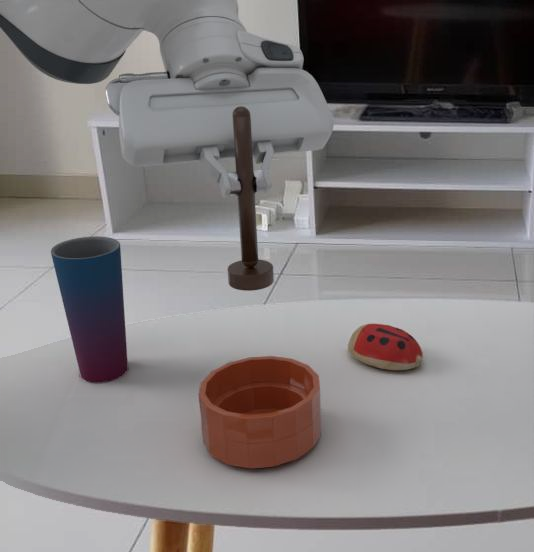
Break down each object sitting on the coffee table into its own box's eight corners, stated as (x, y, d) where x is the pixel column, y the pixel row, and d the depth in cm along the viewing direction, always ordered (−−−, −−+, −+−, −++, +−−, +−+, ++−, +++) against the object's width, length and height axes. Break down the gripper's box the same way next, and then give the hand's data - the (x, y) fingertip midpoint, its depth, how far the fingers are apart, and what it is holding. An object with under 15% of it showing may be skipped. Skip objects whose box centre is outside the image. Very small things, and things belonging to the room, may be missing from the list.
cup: (143, 376, 84) (128, 250, 78) (80, 393, 80) (58, 263, 74) (126, 351, 89) (110, 232, 83) (65, 366, 85) (44, 243, 80)
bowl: (199, 478, 68) (193, 421, 65) (209, 410, 78) (204, 359, 75) (323, 468, 69) (322, 413, 67) (317, 403, 79) (316, 353, 77)
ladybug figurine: (366, 336, 94) (366, 311, 92) (435, 357, 89) (437, 330, 88) (335, 359, 88) (334, 332, 87) (408, 382, 84) (408, 354, 82)
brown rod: (227, 291, 72) (214, 111, 65) (229, 274, 76) (217, 102, 69) (273, 290, 72) (265, 110, 66) (273, 272, 76) (265, 102, 70)
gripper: (101, 53, 67) (134, 187, 63) (315, 47, 76) (356, 163, 72) (101, 96, 72) (130, 222, 68) (300, 85, 81) (337, 196, 77)
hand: (248, 192), depth 70 cm, fingers closed on brown rod
